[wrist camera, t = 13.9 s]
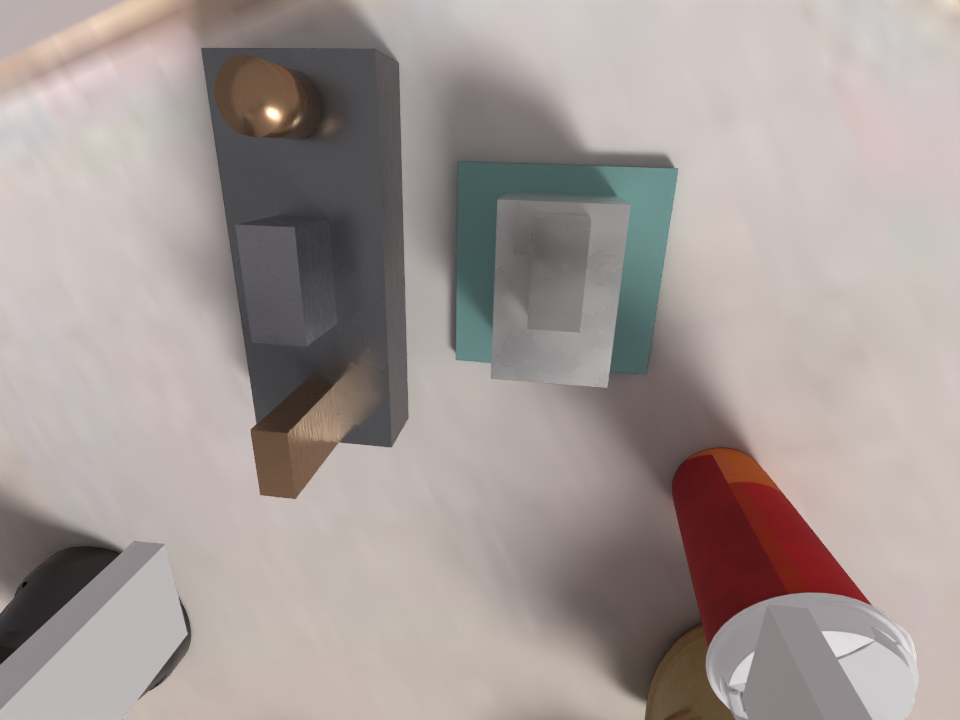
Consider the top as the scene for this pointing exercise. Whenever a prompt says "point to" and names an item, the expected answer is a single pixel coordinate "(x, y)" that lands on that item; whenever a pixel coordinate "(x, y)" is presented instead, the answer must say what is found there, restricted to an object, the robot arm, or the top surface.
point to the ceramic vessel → (685, 684)
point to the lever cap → (557, 286)
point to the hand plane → (314, 247)
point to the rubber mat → (632, 184)
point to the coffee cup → (778, 584)
